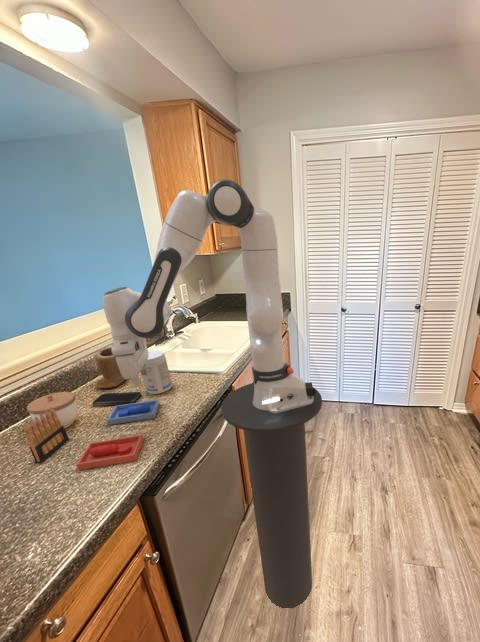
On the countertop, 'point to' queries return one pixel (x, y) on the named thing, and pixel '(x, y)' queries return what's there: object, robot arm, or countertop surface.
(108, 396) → the phone
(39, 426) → the ammunition clip
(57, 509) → the countertop surface
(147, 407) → the blue lumpy bar
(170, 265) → the robot arm
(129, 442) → the red tray
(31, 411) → the lidded bowl
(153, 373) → the supplement tub
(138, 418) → the blue tray
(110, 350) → the boot
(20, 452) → the countertop surface
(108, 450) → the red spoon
